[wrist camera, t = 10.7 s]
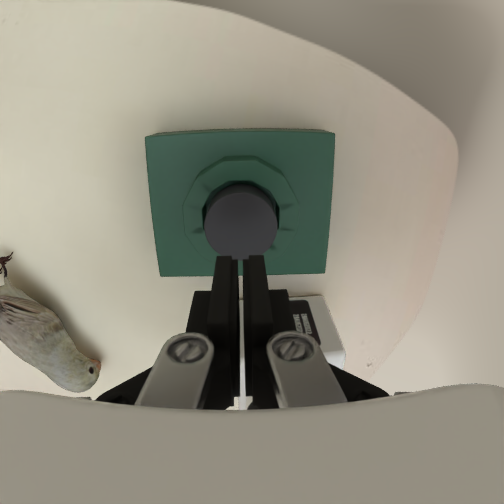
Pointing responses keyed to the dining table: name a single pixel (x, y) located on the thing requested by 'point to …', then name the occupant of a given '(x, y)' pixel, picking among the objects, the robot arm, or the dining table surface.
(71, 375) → the decorative bird
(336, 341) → the container
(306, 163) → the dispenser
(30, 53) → the dining table surface
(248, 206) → the dark grey push button
